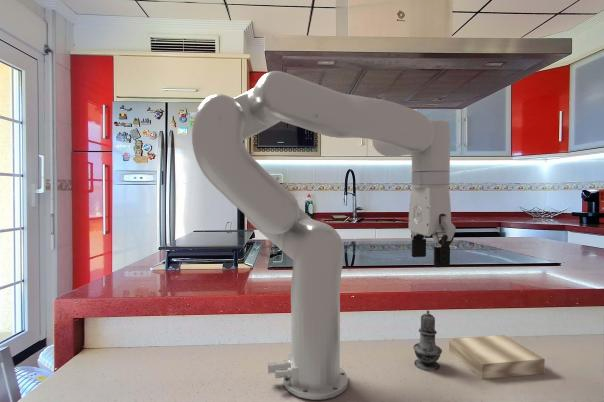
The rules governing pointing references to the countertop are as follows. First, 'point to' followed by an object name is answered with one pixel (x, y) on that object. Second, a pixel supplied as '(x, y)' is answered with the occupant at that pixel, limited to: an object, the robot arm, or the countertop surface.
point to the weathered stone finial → (427, 345)
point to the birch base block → (496, 356)
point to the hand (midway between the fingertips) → (429, 261)
